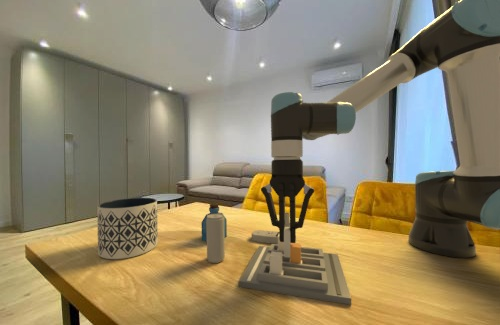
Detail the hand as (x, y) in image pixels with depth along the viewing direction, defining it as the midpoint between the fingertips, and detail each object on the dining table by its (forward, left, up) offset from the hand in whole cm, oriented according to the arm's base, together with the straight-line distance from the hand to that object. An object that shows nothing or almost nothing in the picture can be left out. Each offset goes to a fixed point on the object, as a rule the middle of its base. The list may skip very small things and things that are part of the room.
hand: (287, 254), depth 52 cm
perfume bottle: (+26, -14, -4) cm, 30 cm away
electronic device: (+7, -18, -4) cm, 19 cm away
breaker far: (+2, -6, -2) cm, 7 cm away
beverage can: (+19, 0, -4) cm, 20 cm away
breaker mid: (-2, 0, -2) cm, 3 cm away
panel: (-2, 0, -4) cm, 4 cm away
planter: (+48, 0, -4) cm, 49 cm away
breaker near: (+2, +6, -2) cm, 7 cm away
